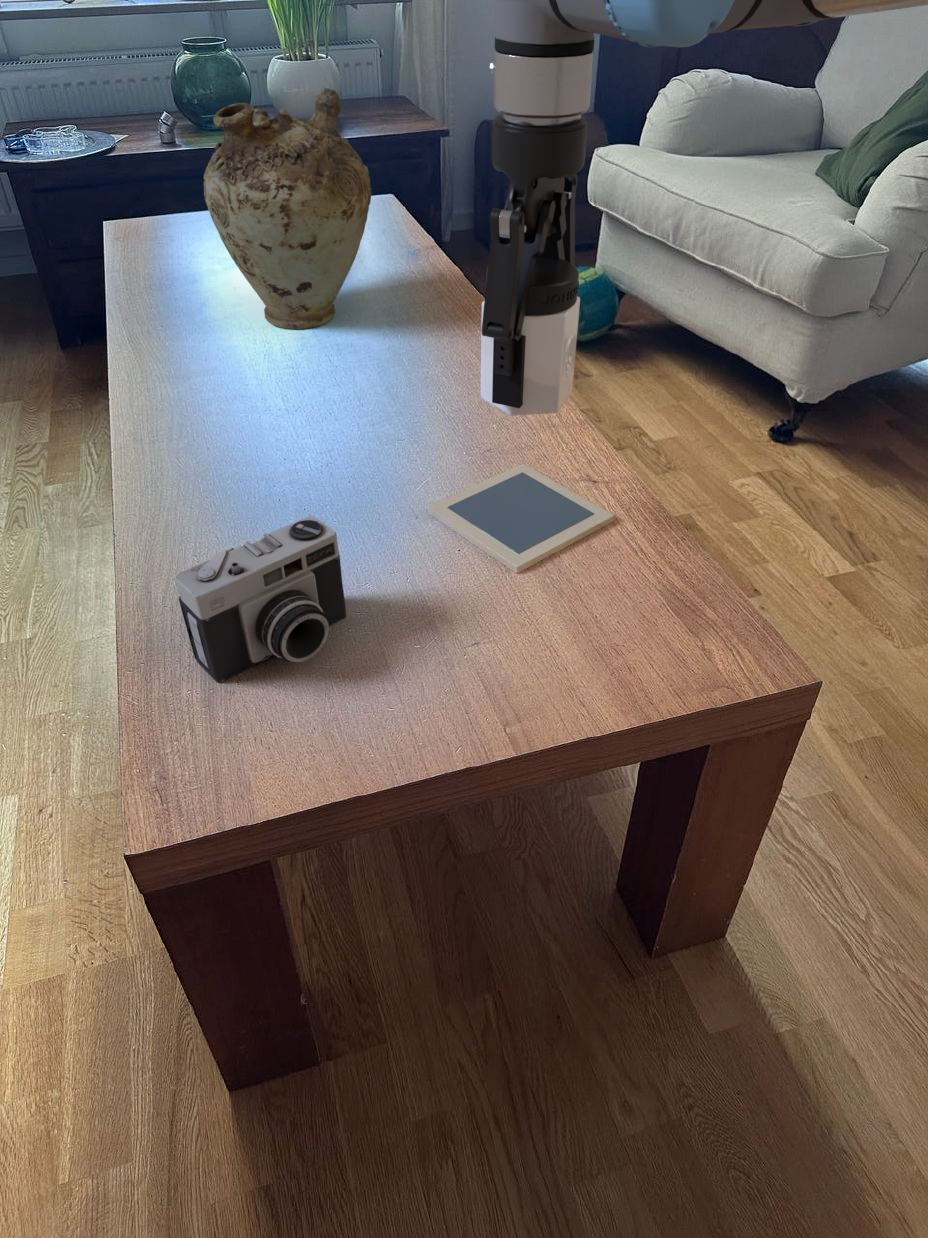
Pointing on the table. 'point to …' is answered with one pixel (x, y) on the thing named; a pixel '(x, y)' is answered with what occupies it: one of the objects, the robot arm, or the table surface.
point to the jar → (543, 340)
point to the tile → (520, 516)
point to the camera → (264, 599)
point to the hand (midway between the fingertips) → (527, 382)
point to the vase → (289, 206)
